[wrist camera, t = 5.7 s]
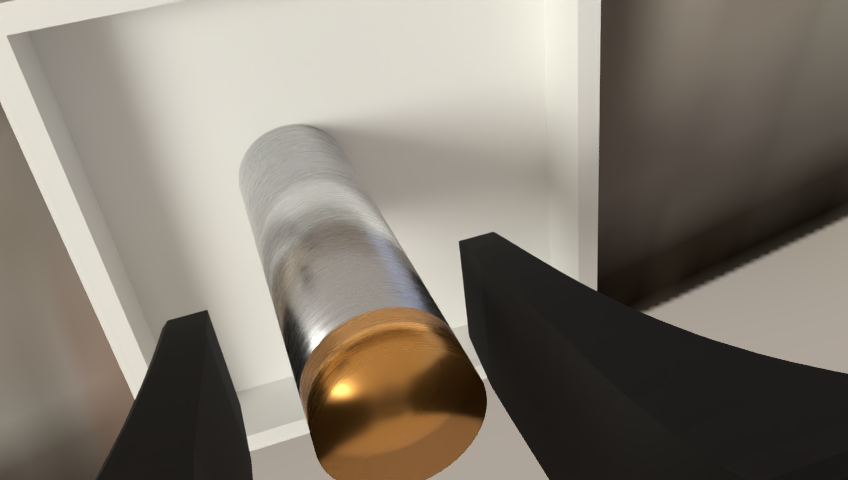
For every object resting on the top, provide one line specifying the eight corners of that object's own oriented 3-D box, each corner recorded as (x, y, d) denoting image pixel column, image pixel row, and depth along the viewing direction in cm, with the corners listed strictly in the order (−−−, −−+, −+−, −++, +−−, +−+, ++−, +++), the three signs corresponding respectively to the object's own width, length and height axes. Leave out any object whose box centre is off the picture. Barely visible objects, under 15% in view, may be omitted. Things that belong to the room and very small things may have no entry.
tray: (554, -125, 16) (602, -111, 14) (562, 300, 22) (596, 344, 20) (-20, -20, 14) (-42, 10, 12) (167, 417, 20) (169, 476, 18)
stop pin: (333, 110, 16) (472, 325, 10) (359, 205, 18) (497, 450, 11) (222, 144, 16) (291, 392, 9) (258, 239, 17) (339, 514, 11)
